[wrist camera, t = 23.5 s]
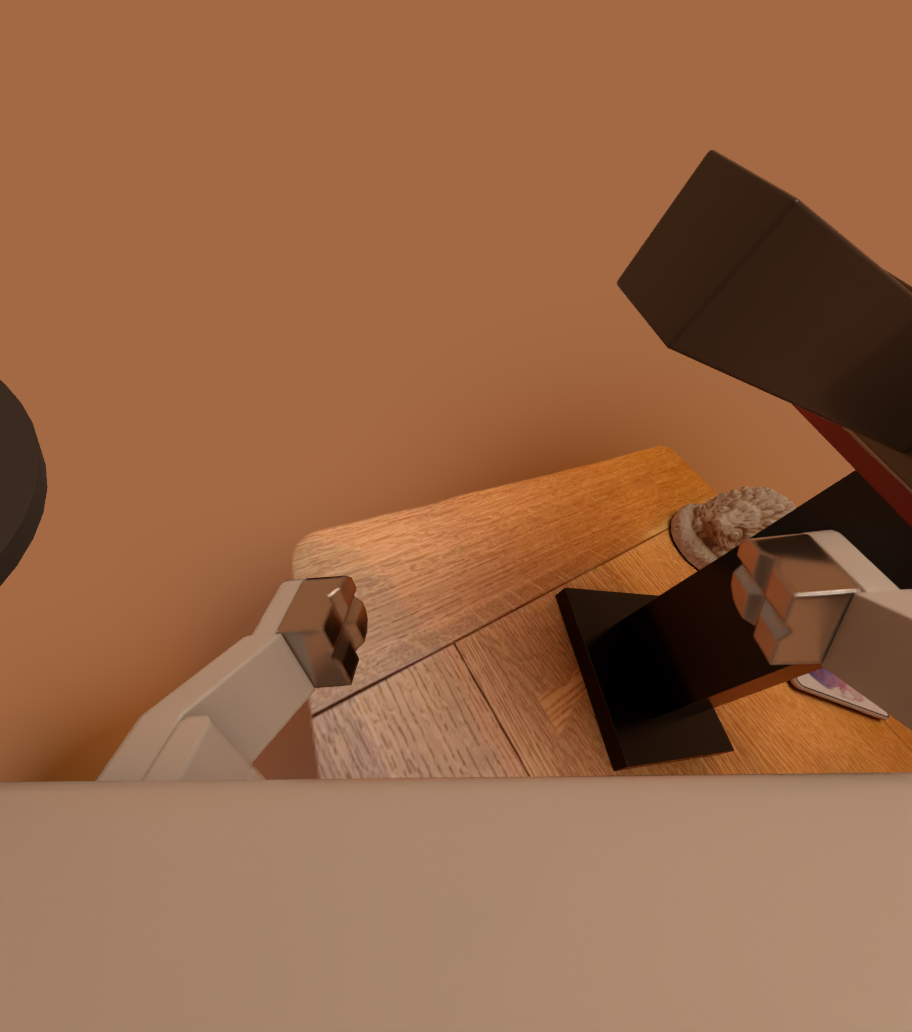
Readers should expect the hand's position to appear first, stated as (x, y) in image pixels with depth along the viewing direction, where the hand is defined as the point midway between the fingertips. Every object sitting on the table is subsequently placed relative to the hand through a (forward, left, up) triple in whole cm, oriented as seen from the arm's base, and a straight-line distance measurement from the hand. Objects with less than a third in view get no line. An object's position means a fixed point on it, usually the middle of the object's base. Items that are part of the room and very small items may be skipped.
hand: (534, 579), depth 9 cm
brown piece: (+12, +5, +3) cm, 14 cm away
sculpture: (+50, +21, -21) cm, 58 cm away
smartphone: (+56, +4, -21) cm, 60 cm away
